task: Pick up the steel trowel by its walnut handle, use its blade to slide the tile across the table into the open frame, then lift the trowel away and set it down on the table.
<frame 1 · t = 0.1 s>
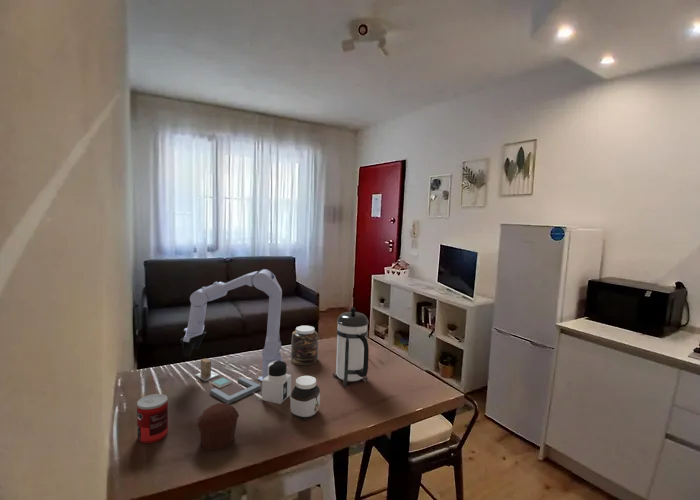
hand: (191, 352, 138), 10 cm above the table, tool pointing down, fingers open, 7 cm apart
jar: (304, 360, 160), on the table
trowel: (207, 376, 142), on the table
container: (276, 397, 128), on the table
tile frame: (234, 390, 131), on the table
coffee press: (352, 380, 143), on the table
canned food: (153, 436, 104), on the table
tile: (221, 385, 136), on the table
spread jar: (302, 410, 120), on the table
muffin: (218, 440, 103), on the table
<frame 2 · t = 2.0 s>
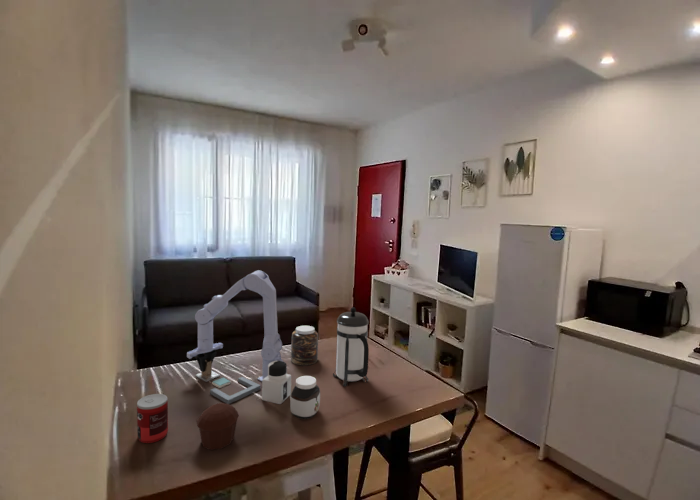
hand: (205, 369, 142), 2 cm above the table, tool pointing down, fingers closed on trowel
trowel: (207, 376, 141), on the table, touching gripper
everything else where it was.
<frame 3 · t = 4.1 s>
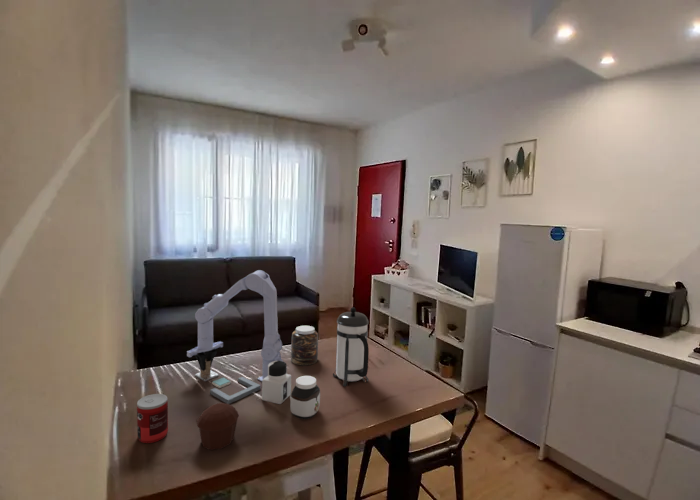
hand: (205, 368, 142), 3 cm above the table, tool pointing down, fingers closed on trowel
trowel: (206, 375, 142), on the table, touching gripper
everything else where it was.
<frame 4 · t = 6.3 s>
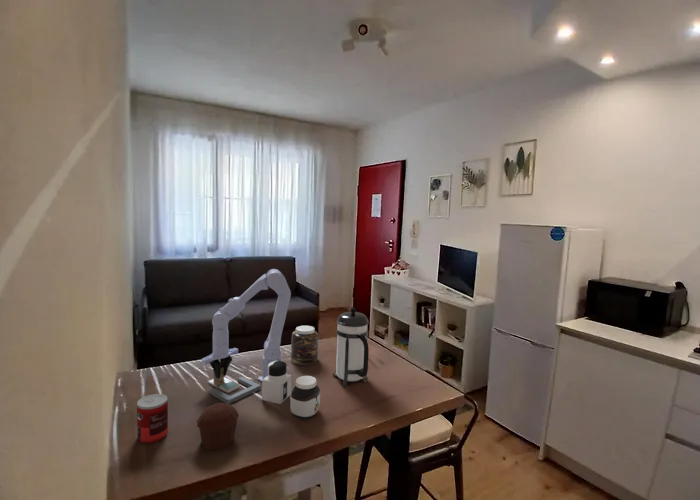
hand: (220, 376, 136), 3 cm above the table, tool pointing down, fingers closed on trowel
trowel: (220, 383, 136), on the table, touching gripper
tile: (229, 388, 133), on the table
everything else where it was.
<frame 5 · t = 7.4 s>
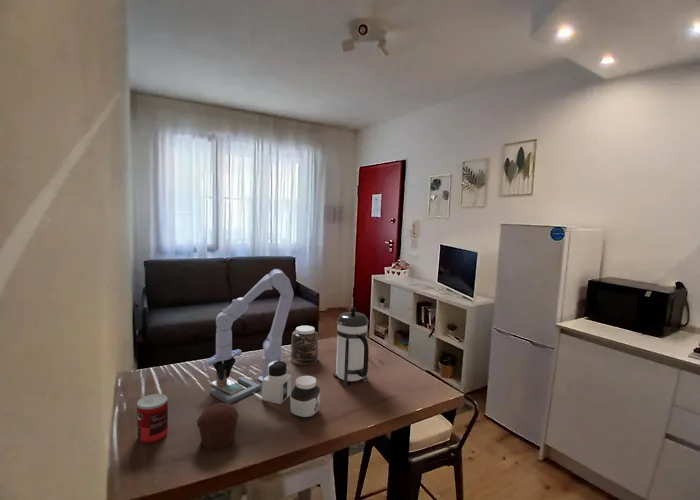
hand: (223, 378, 135), 3 cm above the table, tool pointing down, fingers closed on trowel
trowel: (223, 384, 135), on the table, touching gripper
tile: (232, 391, 132), on the table
everything else where it was.
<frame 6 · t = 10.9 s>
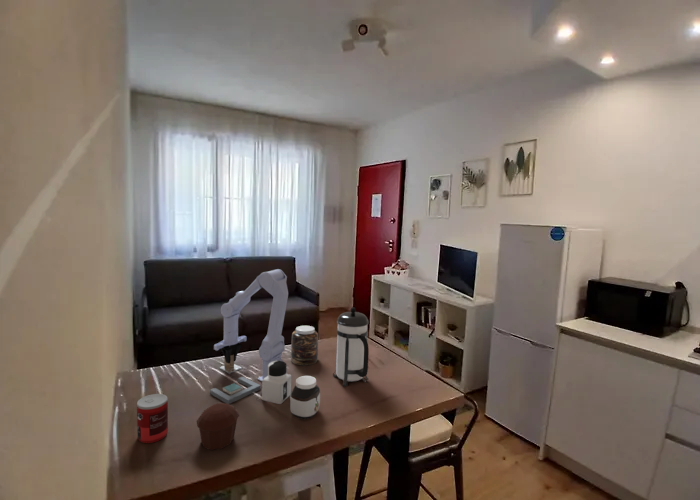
hand: (230, 361, 148), 3 cm above the table, tool pointing down, fingers closed on trowel
trowel: (230, 369, 149), on the table, touching gripper
everything else where it was.
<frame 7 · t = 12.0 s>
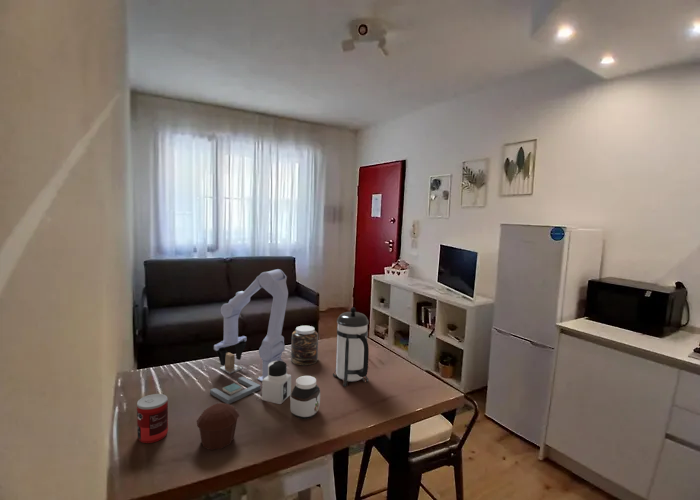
hand: (230, 361, 148), 3 cm above the table, tool pointing down, fingers open, 7 cm apart
trowel: (231, 369, 149), on the table
everything else where it was.
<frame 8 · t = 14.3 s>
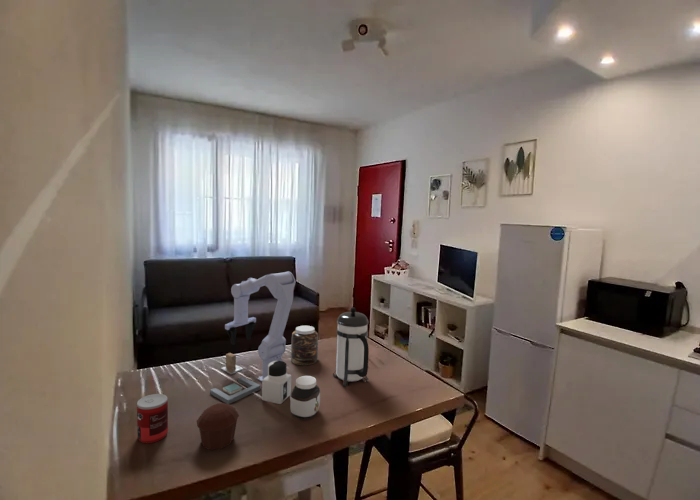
hand: (240, 341, 152), 10 cm above the table, tool pointing down, fingers open, 7 cm apart
nothing on the table moved.
at the end: tile 0.9 cm off-centre on the tile frame, point -0.5 cm above the tile frame's base; the gripper is holding nothing; trowel on the table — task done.
